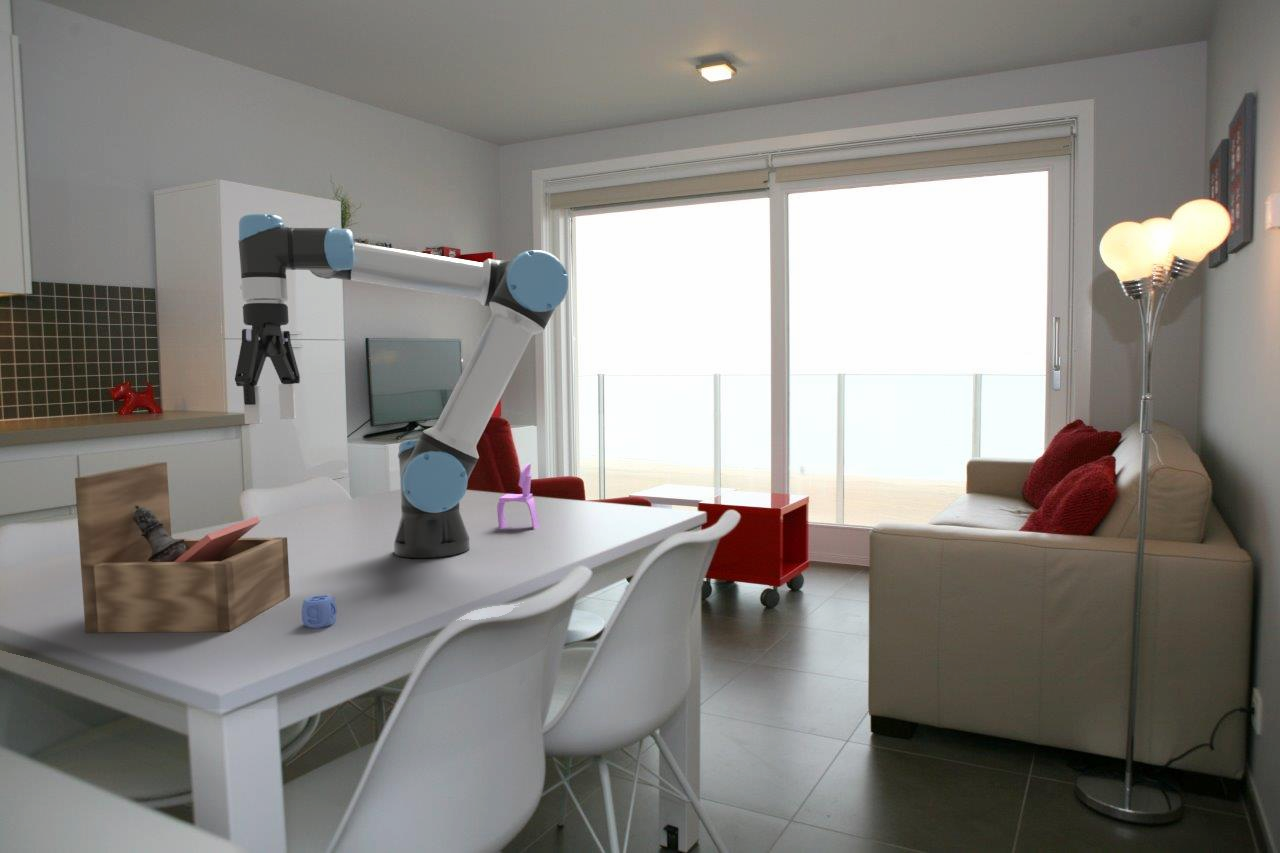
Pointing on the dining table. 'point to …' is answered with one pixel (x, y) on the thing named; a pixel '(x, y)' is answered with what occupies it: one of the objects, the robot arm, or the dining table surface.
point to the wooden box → (165, 564)
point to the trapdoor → (217, 542)
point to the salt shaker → (158, 537)
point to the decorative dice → (319, 611)
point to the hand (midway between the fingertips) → (271, 421)
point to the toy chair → (519, 499)
